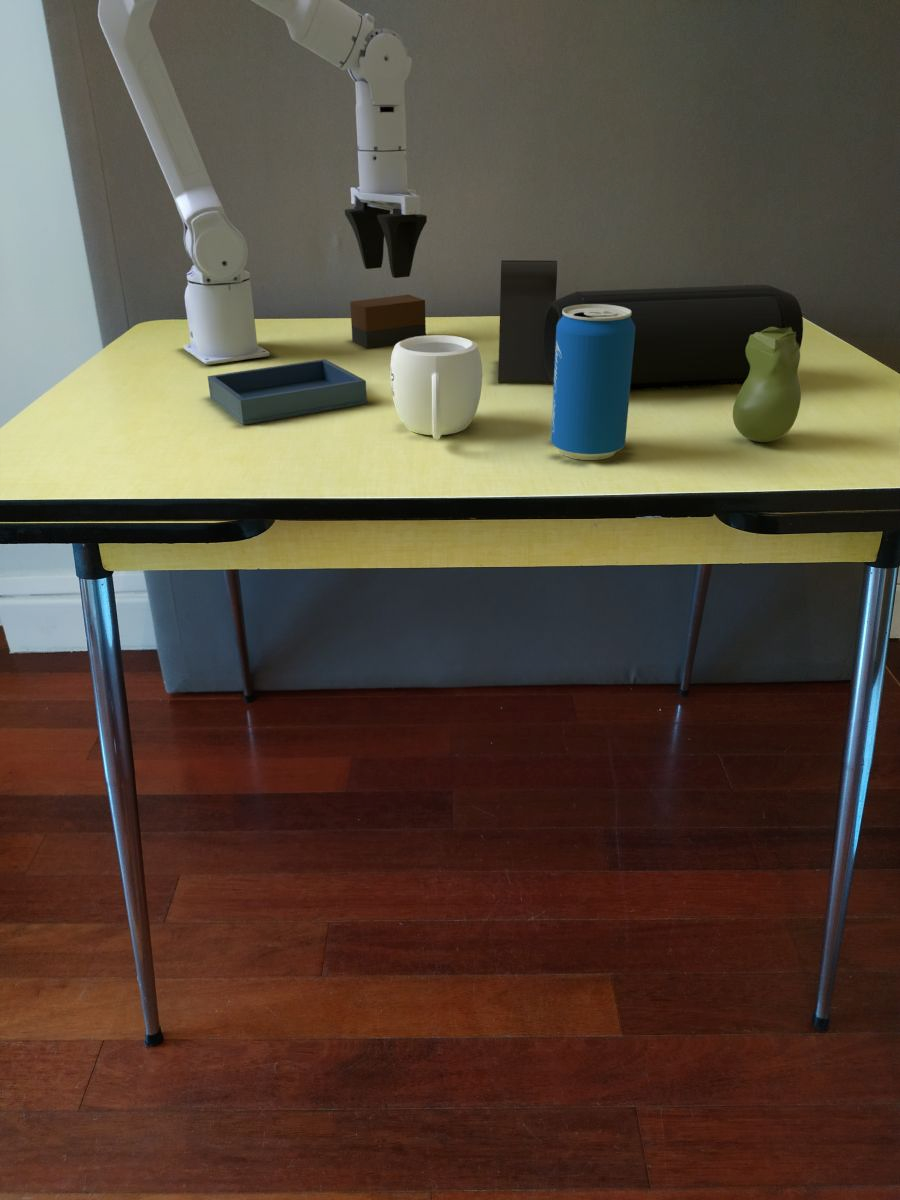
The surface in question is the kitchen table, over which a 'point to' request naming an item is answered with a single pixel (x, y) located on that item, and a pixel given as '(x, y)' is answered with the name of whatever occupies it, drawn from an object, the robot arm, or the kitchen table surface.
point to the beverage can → (592, 380)
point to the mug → (436, 383)
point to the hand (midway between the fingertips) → (386, 272)
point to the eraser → (387, 320)
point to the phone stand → (524, 319)
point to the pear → (769, 386)
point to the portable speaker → (687, 330)
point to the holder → (286, 391)
